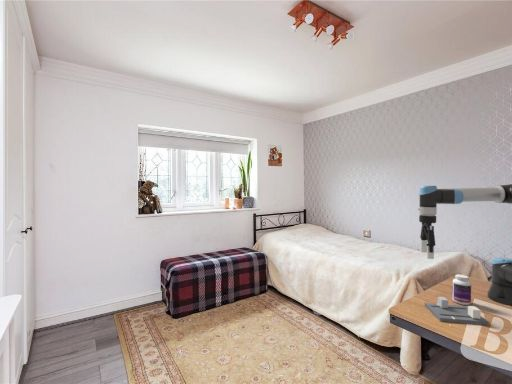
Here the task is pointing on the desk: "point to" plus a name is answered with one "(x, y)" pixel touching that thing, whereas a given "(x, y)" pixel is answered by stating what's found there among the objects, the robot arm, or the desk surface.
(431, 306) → the panel
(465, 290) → the pill bottle
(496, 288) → the robot arm
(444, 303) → the fader grey
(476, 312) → the fader ivory
